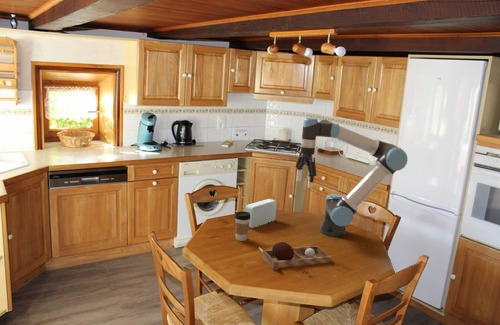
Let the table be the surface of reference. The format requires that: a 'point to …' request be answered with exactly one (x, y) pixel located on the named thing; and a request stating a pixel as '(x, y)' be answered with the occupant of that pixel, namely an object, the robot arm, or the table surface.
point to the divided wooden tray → (296, 258)
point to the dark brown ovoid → (283, 251)
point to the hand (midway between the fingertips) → (304, 184)
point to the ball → (309, 253)
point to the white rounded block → (261, 212)
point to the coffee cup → (242, 225)
